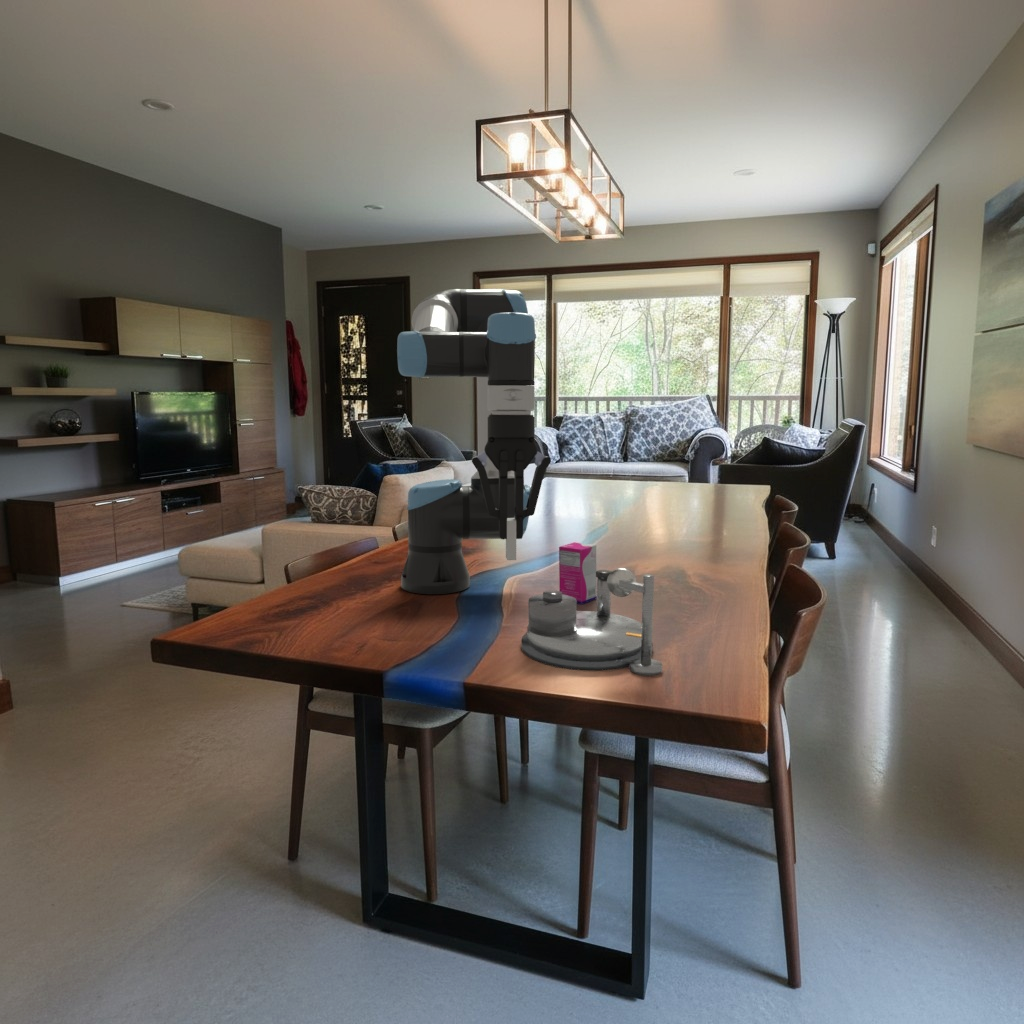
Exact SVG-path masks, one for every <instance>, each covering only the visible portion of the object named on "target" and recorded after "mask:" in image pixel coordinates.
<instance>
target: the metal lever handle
mask: <svg viewBox="0 0 1024 1024" xmlns="http://www.w3.org/2000/svg"><path fill="white" fill-rule="evenodd" d="M611 571H612V570H611ZM654 583H655V575H653V574H643V575H642V583H640V582H637V578H636V576H635V574H634V573H633V572H632V571H631V570H630V569H628V568H626V567H618V568H616V569H614V570H613V571H612V572H611V573H610V574H609V576H608V578H607V586H608V588H609V590H610V592H611V595H614V596H616V597H619V598H623V597H627V596H629V595H631V594H632V593H633V592H635V591H636V592H639V593H642V608H641V610H642V611H641V624H642V635H641V658H638V659H634V660H631V661H630V664H629V667H628V669H629V671H630V672H631V673H632V674H633V675H637V676H643V677H654V676H659V675H660V674H662V672H663V663H662V662H661V661H659V660H656V659H654V658H652V655H651V653H652V654H653V652H652V644H653V620H654V619H653V617H654V616H653V615H654V591H655V590H654V589H655V588H654V587H655V585H654Z"/></svg>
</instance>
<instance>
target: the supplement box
mask: <svg viewBox="0 0 1024 1024" xmlns="http://www.w3.org/2000/svg"><path fill="white" fill-rule="evenodd" d="M558 565H559V566H558V567H559V568H558V569H559V573H558V575H559V576H558V577H559V579H558V581H559V582H558V583H559V584H558V585H559V591H560V592H562V594H563V595H568V596H571V597H574V598H575V599H576V600H577V605H584V604H586V603H589V602H592V601H594V600H597V577H596V571H597V544H590V543H581V542H570V543H567V544H563V545H560V546H559V547H558Z"/></svg>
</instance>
